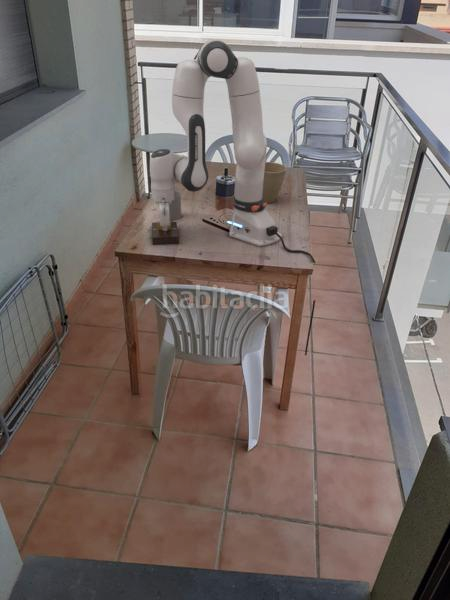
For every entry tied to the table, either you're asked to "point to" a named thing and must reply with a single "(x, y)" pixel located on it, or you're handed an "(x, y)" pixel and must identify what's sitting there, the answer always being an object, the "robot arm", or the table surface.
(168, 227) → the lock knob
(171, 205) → the cup
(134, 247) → the table surface
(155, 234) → the lock plate
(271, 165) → the plant pot
